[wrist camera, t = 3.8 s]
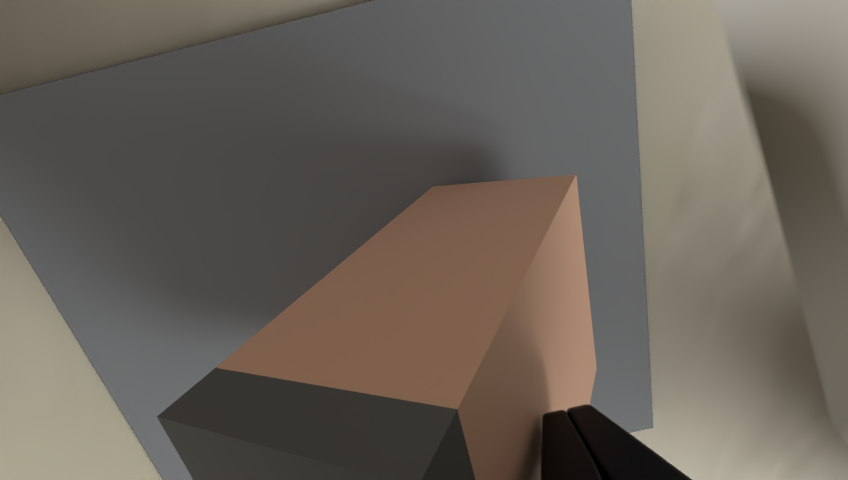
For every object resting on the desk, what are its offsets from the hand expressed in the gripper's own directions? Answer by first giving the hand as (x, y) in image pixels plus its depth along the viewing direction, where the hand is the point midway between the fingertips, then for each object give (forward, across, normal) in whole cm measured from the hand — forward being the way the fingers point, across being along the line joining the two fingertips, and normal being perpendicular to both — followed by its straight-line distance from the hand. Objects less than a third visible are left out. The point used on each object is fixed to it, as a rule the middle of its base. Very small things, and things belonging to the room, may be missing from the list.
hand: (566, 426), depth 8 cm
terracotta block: (+6, 0, 0) cm, 6 cm away
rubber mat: (+7, +4, 0) cm, 8 cm away
